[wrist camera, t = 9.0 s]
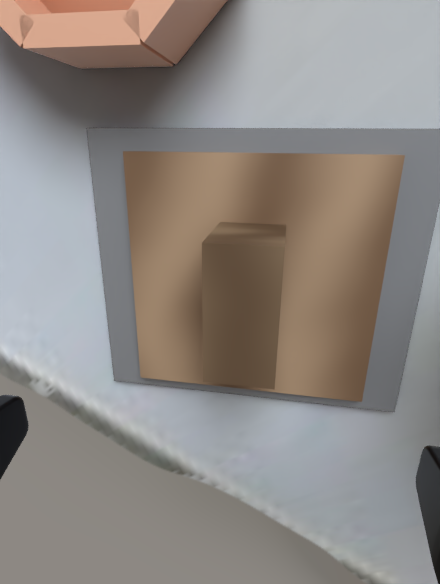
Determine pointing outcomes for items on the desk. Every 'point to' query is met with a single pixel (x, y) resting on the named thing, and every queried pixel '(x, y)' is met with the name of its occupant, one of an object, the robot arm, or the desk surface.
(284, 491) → the desk surface
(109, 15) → the bowl
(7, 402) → the robot arm
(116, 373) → the mat
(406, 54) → the desk surface
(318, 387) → the cover
